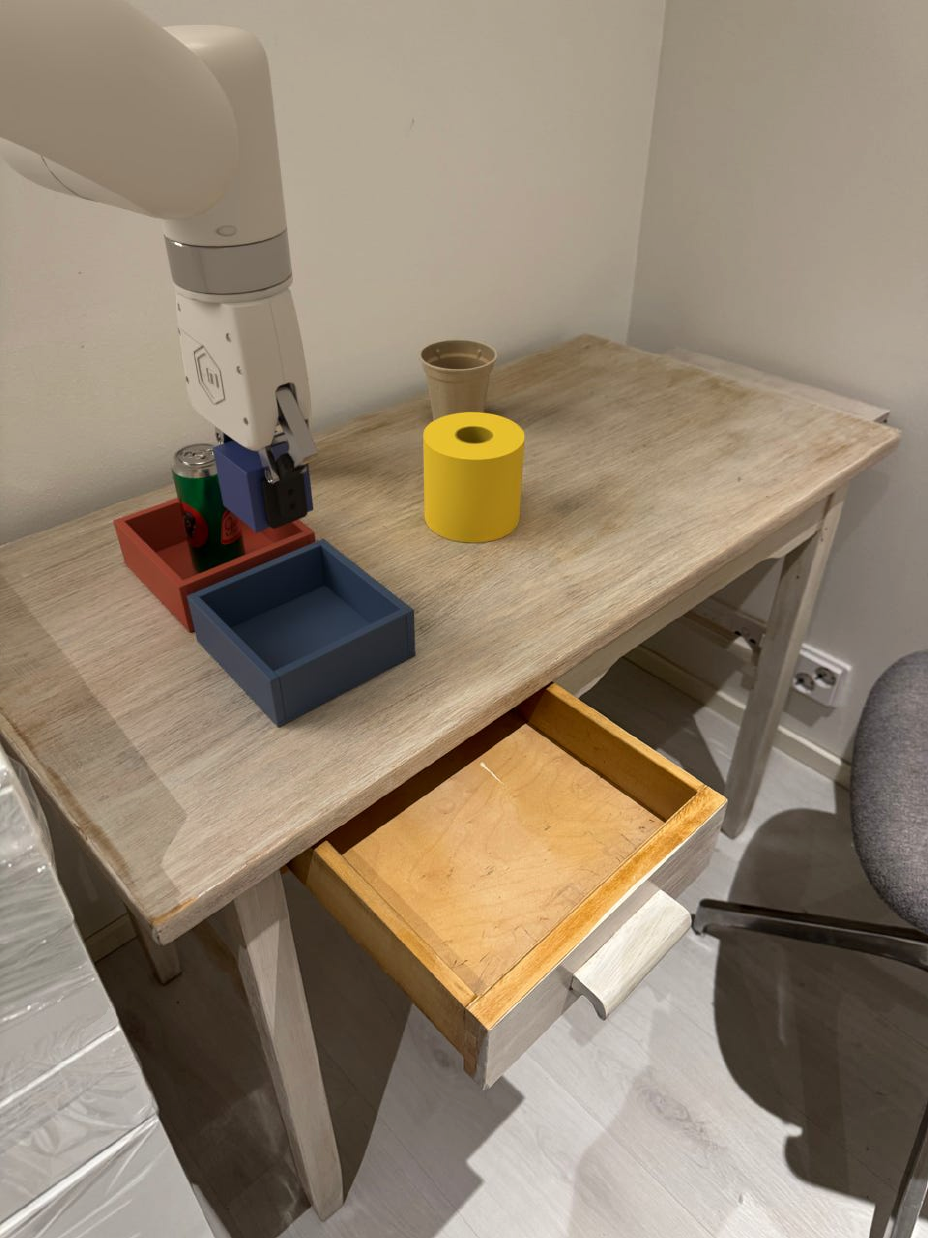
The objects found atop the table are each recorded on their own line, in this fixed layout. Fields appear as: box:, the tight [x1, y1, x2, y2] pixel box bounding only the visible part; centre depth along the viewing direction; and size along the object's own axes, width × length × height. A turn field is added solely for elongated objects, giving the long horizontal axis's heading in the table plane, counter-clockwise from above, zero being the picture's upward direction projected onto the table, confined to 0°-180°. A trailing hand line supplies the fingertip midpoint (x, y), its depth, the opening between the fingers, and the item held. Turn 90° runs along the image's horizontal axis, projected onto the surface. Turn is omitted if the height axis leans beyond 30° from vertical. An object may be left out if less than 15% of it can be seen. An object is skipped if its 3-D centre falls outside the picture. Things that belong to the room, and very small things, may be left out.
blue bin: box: [187, 538, 416, 728], centre depth 76 cm, size 14×14×5 cm
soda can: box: [170, 442, 246, 573], centre depth 82 cm, size 5×5×12 cm
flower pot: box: [418, 338, 499, 421], centre depth 109 cm, size 9×9×9 cm
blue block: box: [213, 430, 314, 533], centre depth 67 cm, size 5×5×5 cm
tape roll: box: [422, 412, 525, 544], centre depth 91 cm, size 10×10×9 cm
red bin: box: [112, 497, 317, 633], centre depth 85 cm, size 14×14×5 cm
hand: (267, 503), depth 68 cm, fingers closed on blue block, 5 cm apart
